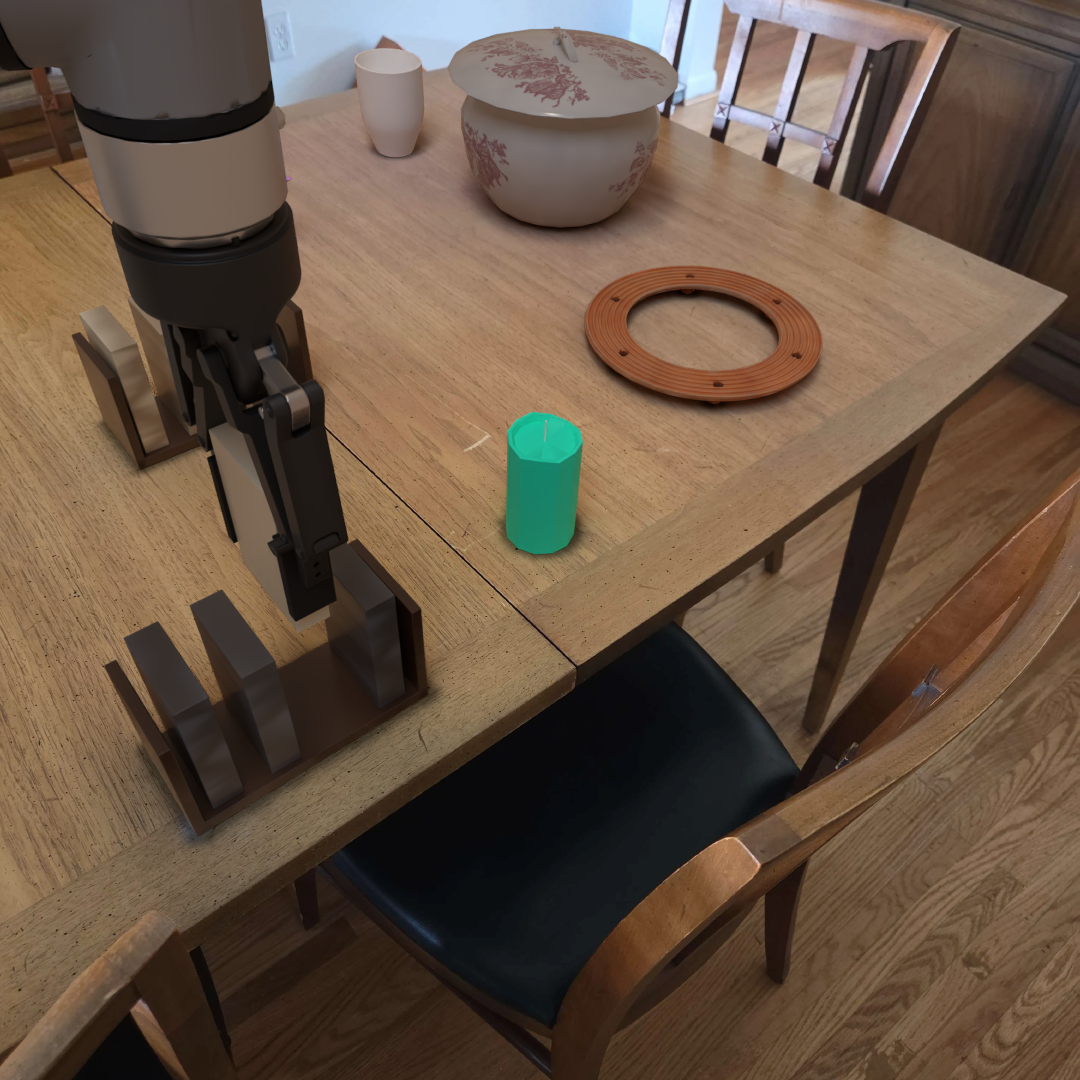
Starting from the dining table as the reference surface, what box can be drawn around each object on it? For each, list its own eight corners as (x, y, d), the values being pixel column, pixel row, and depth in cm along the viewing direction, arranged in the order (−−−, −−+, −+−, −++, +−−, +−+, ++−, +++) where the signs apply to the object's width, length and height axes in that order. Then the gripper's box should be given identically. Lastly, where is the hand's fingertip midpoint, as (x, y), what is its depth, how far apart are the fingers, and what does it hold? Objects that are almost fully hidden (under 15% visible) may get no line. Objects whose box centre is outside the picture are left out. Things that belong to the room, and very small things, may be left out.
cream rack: (139, 470, 83) (99, 359, 75) (105, 424, 88) (63, 314, 79) (316, 397, 92) (299, 290, 83) (277, 358, 96) (256, 252, 87)
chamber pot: (580, 280, 109) (595, 97, 94) (407, 206, 120) (396, 31, 105) (701, 197, 125) (730, 29, 110) (538, 138, 136) (544, -22, 121)
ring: (536, 324, 102) (537, 305, 100) (701, 259, 113) (704, 241, 112) (696, 448, 89) (701, 428, 87) (865, 361, 100) (872, 342, 98)
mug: (409, 168, 127) (403, 76, 118) (351, 156, 129) (341, 64, 120) (444, 136, 135) (441, 47, 126) (389, 124, 137) (383, 36, 128)
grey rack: (197, 837, 60) (148, 737, 51) (146, 750, 64) (93, 645, 55) (428, 694, 68) (420, 588, 59) (370, 626, 72) (354, 517, 64)
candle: (495, 513, 81) (496, 405, 73) (558, 498, 83) (567, 390, 74) (519, 561, 78) (523, 453, 69) (585, 544, 79) (596, 436, 71)
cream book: (298, 633, 55) (269, 500, 47) (243, 563, 59) (207, 429, 51) (330, 616, 56) (307, 483, 48) (275, 548, 60) (244, 414, 52)
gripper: (405, 283, 36) (426, 643, 53) (183, 108, 46) (259, 455, 63) (225, 347, 33) (308, 711, 49) (29, 142, 43) (152, 500, 59)
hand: (281, 567), depth 56 cm, fingers closed on cream book, 7 cm apart
